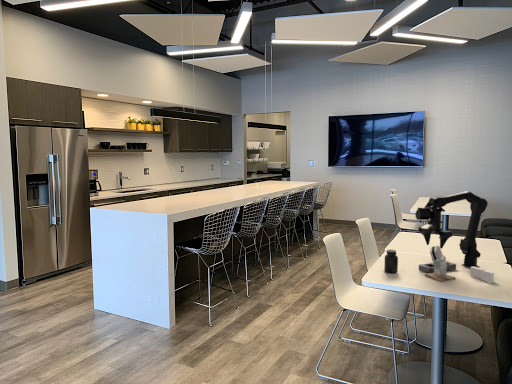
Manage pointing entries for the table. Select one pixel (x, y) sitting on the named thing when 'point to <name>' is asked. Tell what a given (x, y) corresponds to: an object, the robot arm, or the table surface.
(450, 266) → the grey cinder block
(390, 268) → the supplement bottle
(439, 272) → the steel plug
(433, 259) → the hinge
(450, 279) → the walnut pad
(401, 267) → the table surface
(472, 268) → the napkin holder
